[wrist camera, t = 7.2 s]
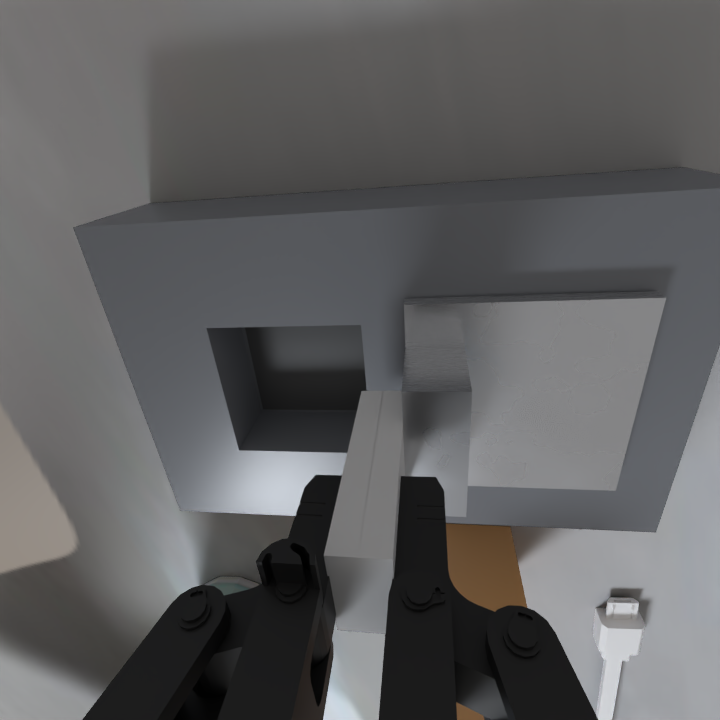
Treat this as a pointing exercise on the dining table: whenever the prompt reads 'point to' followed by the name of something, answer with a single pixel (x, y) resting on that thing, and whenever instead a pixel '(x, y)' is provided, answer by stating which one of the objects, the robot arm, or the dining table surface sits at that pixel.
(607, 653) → the charging cable
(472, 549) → the plug
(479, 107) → the dining table surface
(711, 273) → the socket box
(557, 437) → the shutter
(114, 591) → the dining table surface
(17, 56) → the dining table surface
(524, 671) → the robot arm
